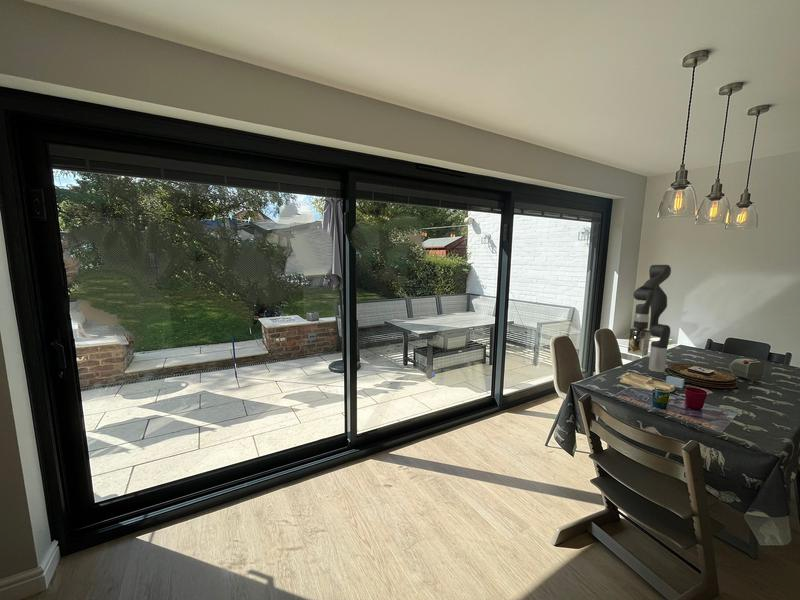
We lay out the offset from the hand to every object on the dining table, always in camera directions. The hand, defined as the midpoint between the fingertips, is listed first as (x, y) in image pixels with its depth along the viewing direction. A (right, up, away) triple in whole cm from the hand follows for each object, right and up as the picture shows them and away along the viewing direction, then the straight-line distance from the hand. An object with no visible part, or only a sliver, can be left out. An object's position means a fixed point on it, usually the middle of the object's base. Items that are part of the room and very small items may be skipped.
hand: (638, 345), depth 212 cm
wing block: (+18, -24, -7) cm, 31 cm away
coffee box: (0, -6, +1) cm, 6 cm away
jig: (0, -24, -7) cm, 25 cm away
